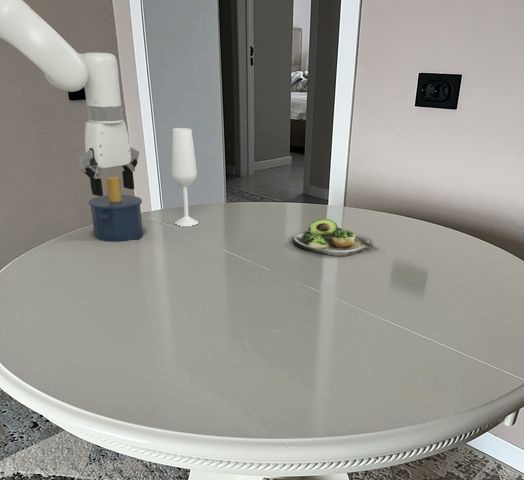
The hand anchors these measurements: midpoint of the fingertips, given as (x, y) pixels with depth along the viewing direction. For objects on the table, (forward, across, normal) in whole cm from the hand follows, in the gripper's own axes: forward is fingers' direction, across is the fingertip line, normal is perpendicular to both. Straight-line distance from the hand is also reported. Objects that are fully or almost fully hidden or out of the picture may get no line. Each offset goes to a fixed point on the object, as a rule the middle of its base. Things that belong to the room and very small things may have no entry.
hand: (113, 191), depth 129 cm
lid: (+3, 0, 0) cm, 3 cm away
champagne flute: (+11, -20, +5) cm, 24 cm away
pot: (+11, 0, 0) cm, 11 cm away
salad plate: (+11, -28, +45) cm, 54 cm away
